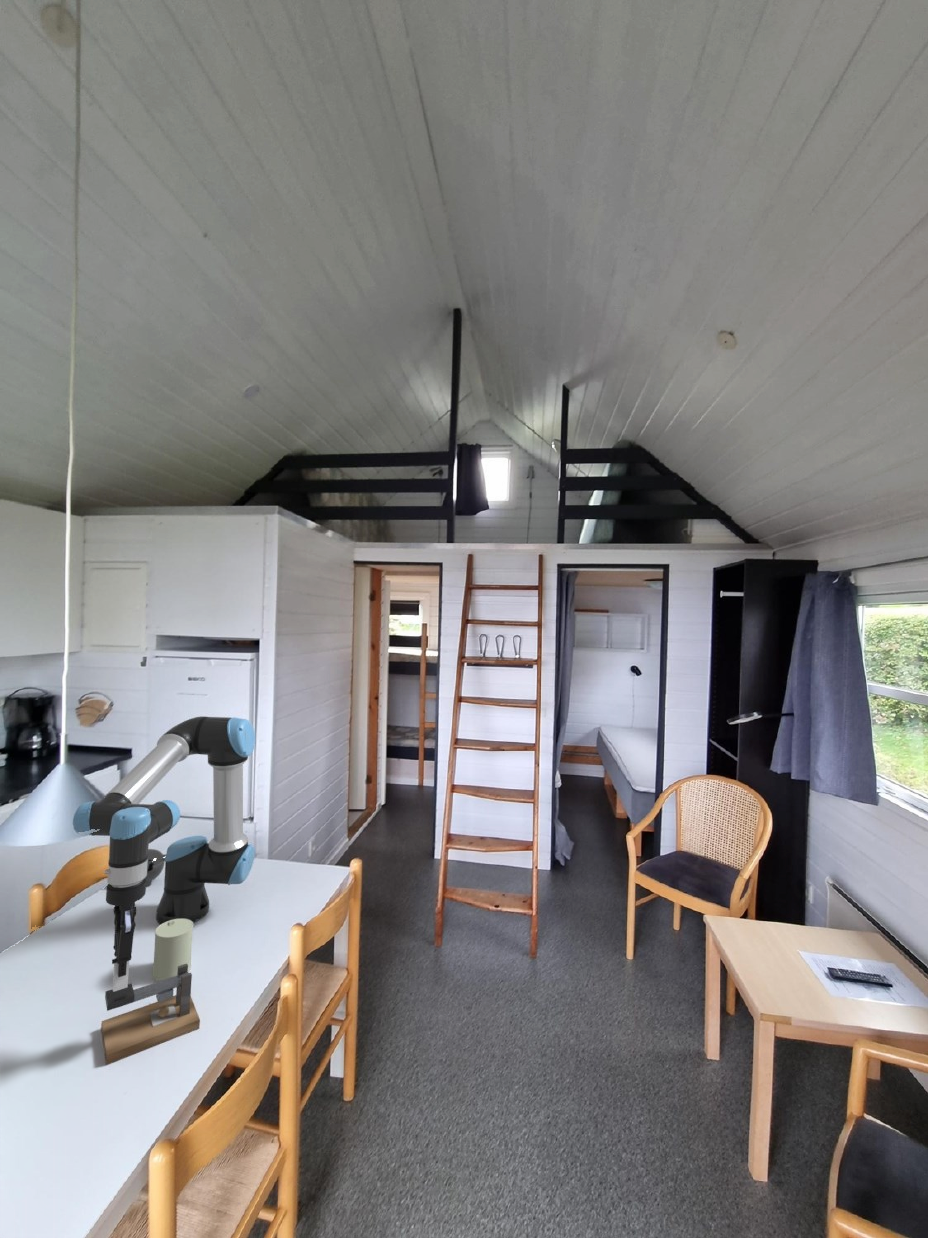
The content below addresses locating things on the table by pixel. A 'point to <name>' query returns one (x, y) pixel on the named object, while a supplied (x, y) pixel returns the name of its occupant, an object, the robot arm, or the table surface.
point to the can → (172, 948)
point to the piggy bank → (154, 865)
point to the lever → (143, 992)
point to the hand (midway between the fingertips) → (120, 987)
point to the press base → (150, 1023)
